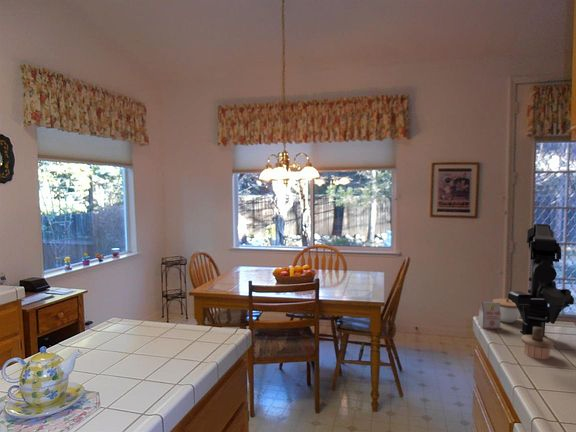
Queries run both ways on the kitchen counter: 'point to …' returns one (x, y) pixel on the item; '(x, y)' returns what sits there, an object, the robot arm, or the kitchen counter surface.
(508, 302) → the lidded jar
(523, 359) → the kitchen counter surface
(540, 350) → the bucket
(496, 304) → the white red-printed box
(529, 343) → the lid
